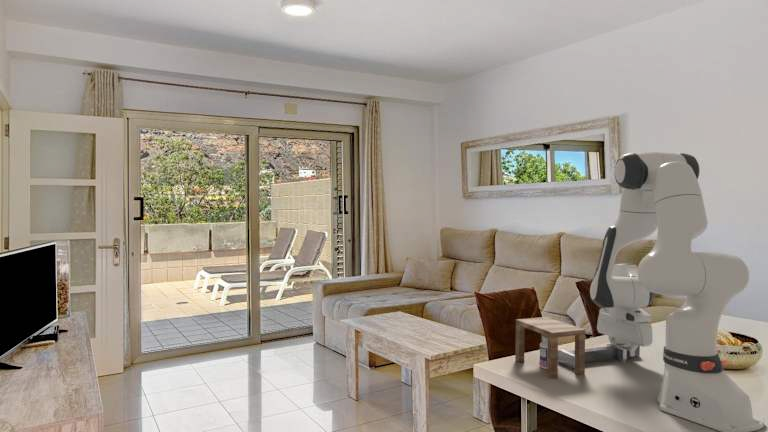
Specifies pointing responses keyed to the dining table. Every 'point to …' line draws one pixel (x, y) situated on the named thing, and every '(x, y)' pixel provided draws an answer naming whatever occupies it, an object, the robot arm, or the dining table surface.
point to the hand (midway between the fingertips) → (622, 352)
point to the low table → (551, 341)
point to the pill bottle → (544, 352)
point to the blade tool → (598, 354)
